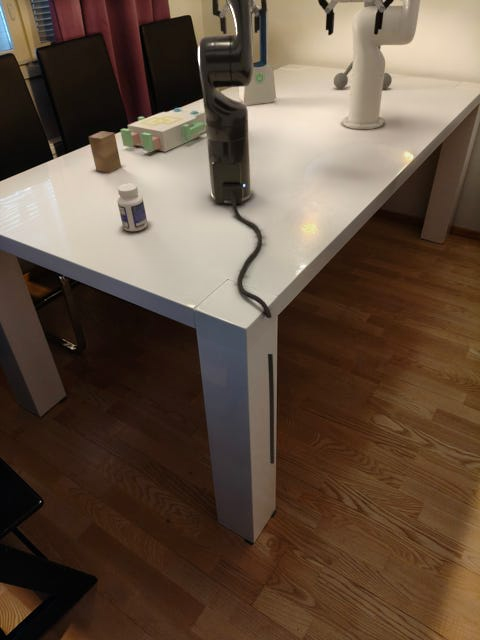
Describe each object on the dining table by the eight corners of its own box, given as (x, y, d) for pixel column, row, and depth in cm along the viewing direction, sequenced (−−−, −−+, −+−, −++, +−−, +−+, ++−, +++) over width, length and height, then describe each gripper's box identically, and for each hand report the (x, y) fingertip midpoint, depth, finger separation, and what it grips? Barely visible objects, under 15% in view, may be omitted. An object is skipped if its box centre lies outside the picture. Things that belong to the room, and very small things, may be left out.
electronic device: (244, 105, 178) (240, 9, 160) (238, 101, 184) (234, 7, 165) (276, 101, 180) (276, 5, 162) (270, 97, 186) (269, 4, 168)
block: (121, 166, 135) (114, 132, 129) (108, 173, 132) (101, 138, 126) (109, 164, 137) (101, 130, 131) (96, 170, 133) (88, 136, 128)
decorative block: (168, 104, 160) (216, 111, 150) (170, 124, 164) (217, 132, 154) (109, 125, 144) (159, 134, 134) (114, 147, 148) (162, 157, 138)
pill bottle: (149, 220, 107) (142, 181, 102) (146, 231, 103) (138, 191, 98) (125, 221, 107) (116, 182, 102) (121, 232, 103) (112, 193, 98)
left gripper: (207, -40, 120) (212, 36, 130) (264, -43, 118) (265, 34, 128) (212, -40, 126) (217, 32, 136) (267, -43, 124) (267, 30, 134)
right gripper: (408, -71, 95) (395, 30, 105) (319, -65, 99) (315, 31, 110) (407, -71, 89) (393, 36, 100) (313, -65, 94) (310, 37, 104)
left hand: (240, 33), depth 132 cm, fingers open, 8 cm apart
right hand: (353, 33), depth 105 cm, fingers open, 9 cm apart
